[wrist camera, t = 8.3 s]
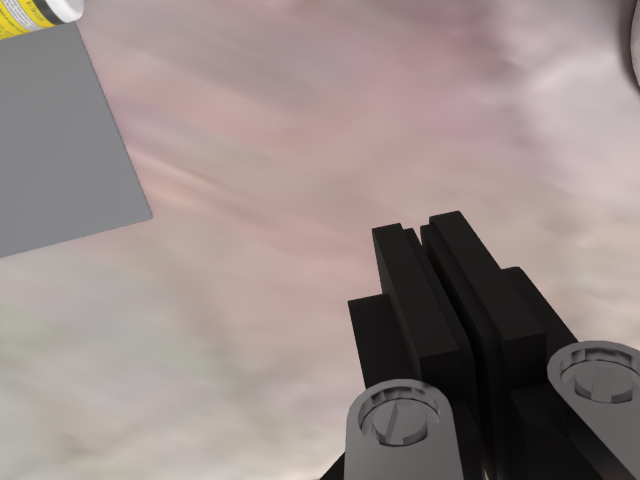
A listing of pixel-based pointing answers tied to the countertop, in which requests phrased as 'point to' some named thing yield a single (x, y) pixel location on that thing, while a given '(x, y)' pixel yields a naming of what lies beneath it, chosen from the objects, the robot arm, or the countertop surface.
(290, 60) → the countertop surface
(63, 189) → the mat
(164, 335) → the countertop surface
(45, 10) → the supplement bottle
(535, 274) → the countertop surface
